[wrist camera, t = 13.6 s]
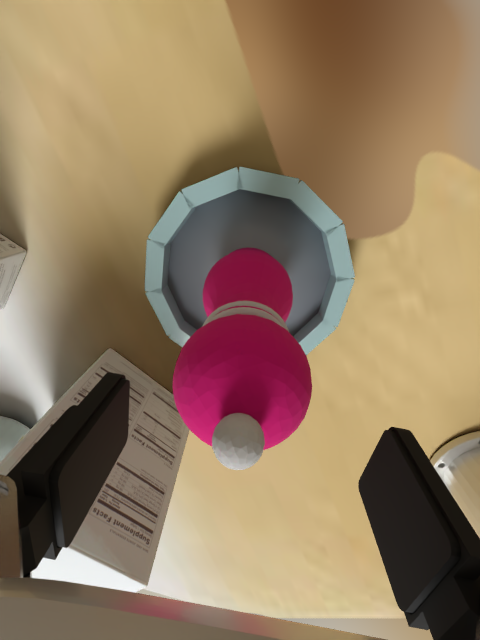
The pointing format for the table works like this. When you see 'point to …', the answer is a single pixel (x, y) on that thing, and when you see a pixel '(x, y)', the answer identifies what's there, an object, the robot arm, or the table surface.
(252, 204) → the round tray
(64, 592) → the robot arm
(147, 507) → the supplement box
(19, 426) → the air freshener
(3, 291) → the skincare box
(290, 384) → the pepper mill
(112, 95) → the table surface
